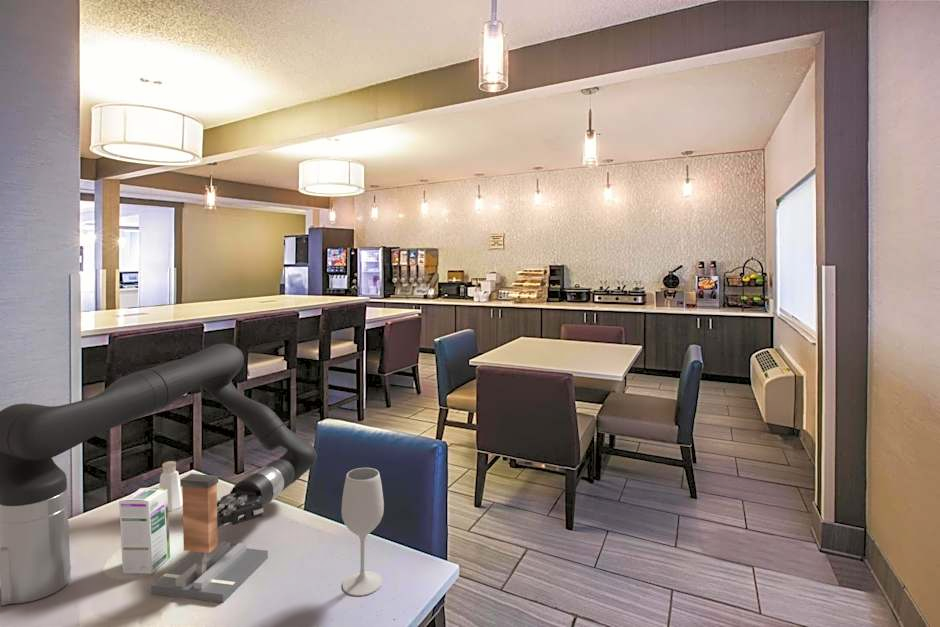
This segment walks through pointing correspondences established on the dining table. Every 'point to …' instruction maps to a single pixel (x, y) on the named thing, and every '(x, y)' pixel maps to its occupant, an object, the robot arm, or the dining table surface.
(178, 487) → the salt shaker
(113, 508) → the dining table surface
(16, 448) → the robot arm
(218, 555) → the grey slotted base
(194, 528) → the lever
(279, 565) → the dining table surface
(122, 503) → the syrup box
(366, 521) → the wineglass
